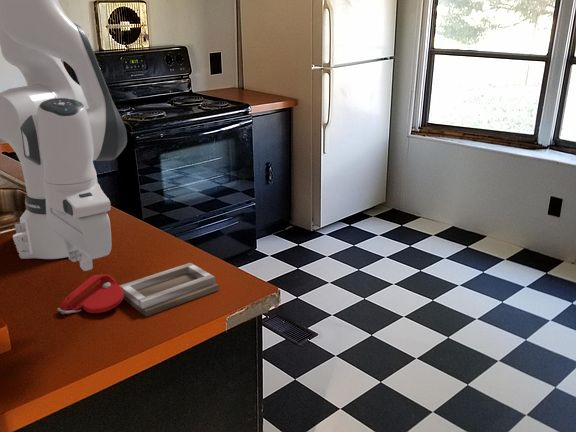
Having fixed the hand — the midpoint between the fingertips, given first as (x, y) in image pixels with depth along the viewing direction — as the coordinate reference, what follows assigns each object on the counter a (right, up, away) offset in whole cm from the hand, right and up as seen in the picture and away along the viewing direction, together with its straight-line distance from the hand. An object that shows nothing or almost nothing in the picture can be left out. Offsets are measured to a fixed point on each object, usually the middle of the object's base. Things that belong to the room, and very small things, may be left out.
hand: (80, 264), depth 111 cm
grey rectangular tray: (+13, -7, +15) cm, 21 cm away
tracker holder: (0, -9, +4) cm, 10 cm away
